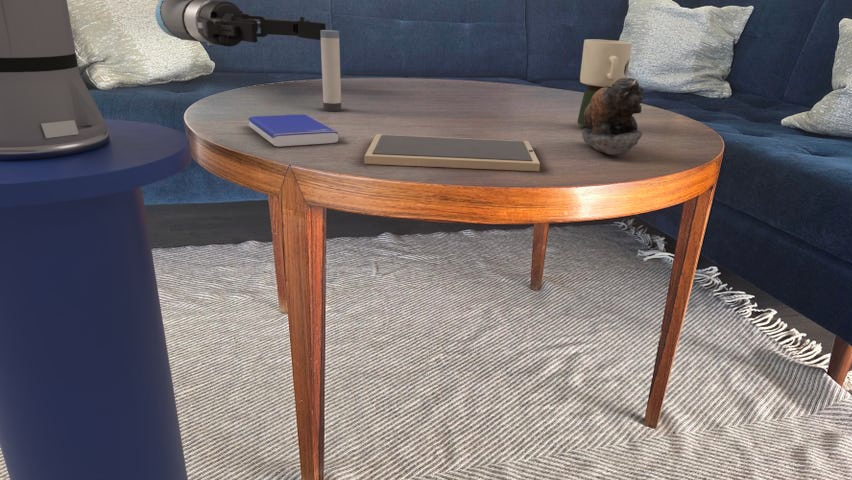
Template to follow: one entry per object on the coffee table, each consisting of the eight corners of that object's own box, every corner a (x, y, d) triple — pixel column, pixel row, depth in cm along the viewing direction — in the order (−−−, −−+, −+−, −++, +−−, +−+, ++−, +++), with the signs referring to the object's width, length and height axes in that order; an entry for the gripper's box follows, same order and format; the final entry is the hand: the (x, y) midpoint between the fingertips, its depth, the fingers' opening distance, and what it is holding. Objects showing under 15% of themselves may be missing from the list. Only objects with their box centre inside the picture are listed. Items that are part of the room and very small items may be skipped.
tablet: (364, 164, 73) (364, 154, 72) (376, 141, 84) (376, 133, 84) (539, 171, 74) (540, 162, 74) (528, 148, 85) (528, 140, 85)
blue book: (338, 130, 81) (307, 113, 91) (272, 134, 77) (247, 116, 87) (338, 142, 82) (308, 124, 92) (273, 147, 78) (248, 127, 88)
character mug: (629, 136, 97) (642, 45, 92) (583, 134, 96) (594, 42, 91) (609, 122, 107) (620, 39, 102) (567, 121, 106) (576, 37, 101)
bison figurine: (570, 141, 91) (578, 67, 87) (618, 142, 92) (628, 69, 88) (595, 162, 80) (605, 78, 76) (649, 163, 81) (662, 80, 77)
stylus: (320, 109, 104) (317, 29, 99) (336, 107, 105) (333, 30, 101) (328, 111, 102) (325, 31, 97) (344, 110, 103) (342, 31, 99)
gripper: (276, 43, 127) (349, 53, 115) (151, 46, 108) (223, 60, 97) (273, 1, 124) (348, 8, 112) (144, -2, 105) (218, 6, 94)
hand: (291, 32), depth 105 cm, fingers open, 13 cm apart
